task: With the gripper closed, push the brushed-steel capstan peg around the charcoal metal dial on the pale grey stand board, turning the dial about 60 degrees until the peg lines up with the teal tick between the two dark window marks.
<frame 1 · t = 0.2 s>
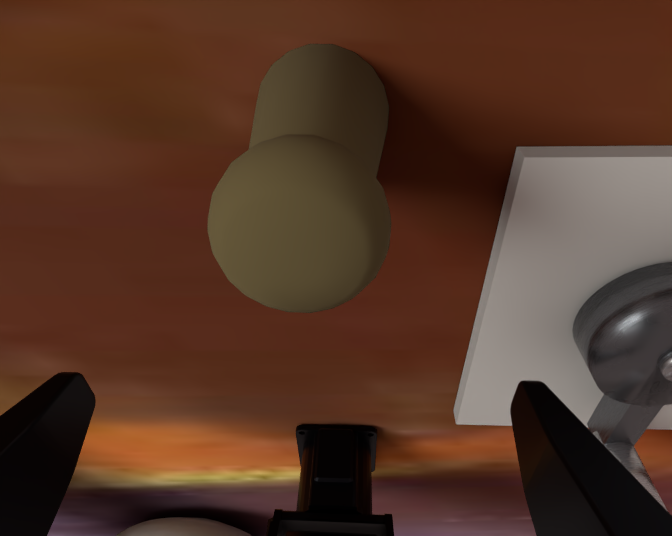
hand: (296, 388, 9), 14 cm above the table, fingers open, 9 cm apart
cork: (322, 114, 20), on the table
serving bowl: (203, 531, 51), on the table
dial: (657, 404, 24), point 5 cm above the table, hinge at 0.0°
stand board: (654, 312, 26), on the table
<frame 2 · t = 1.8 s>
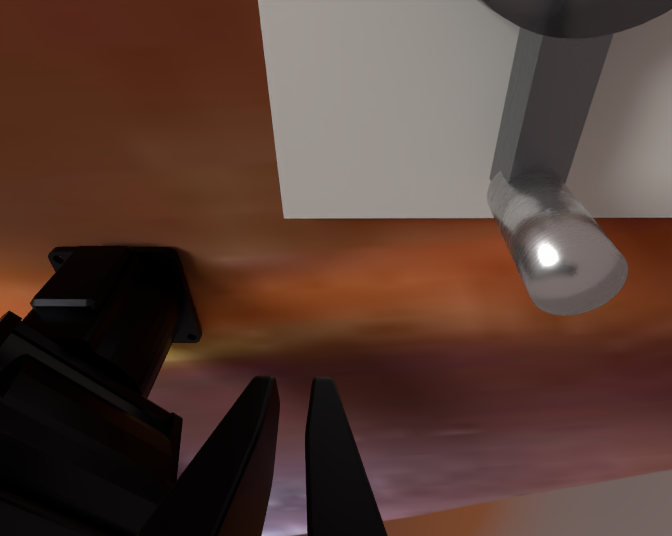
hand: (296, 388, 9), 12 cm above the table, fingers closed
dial: (596, 1, 11), point 5 cm above the table, hinge at 0.0°
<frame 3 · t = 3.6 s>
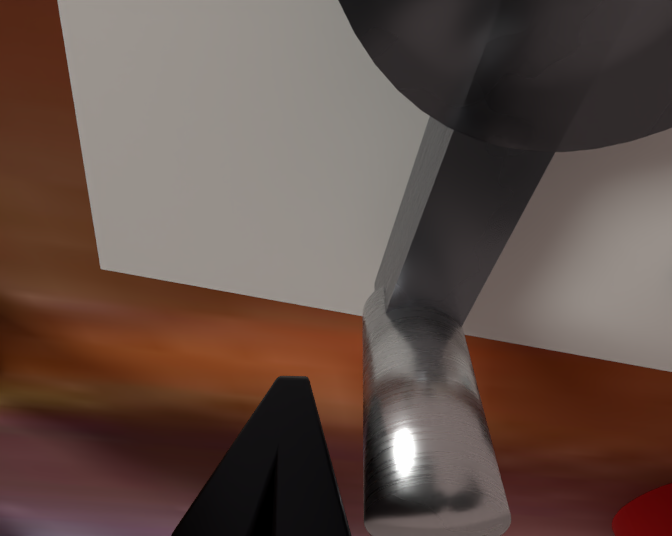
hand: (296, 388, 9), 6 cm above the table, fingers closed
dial: (536, 103, 6), point 5 cm above the table, hinge at 0.4°, touching gripper
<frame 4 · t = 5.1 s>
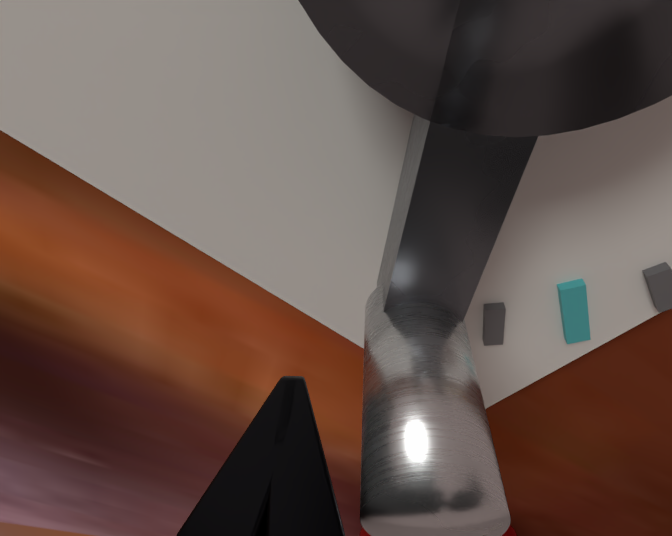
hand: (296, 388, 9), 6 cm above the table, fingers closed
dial: (508, 87, 6), point 5 cm above the table, hinge at 31.7°, touching gripper
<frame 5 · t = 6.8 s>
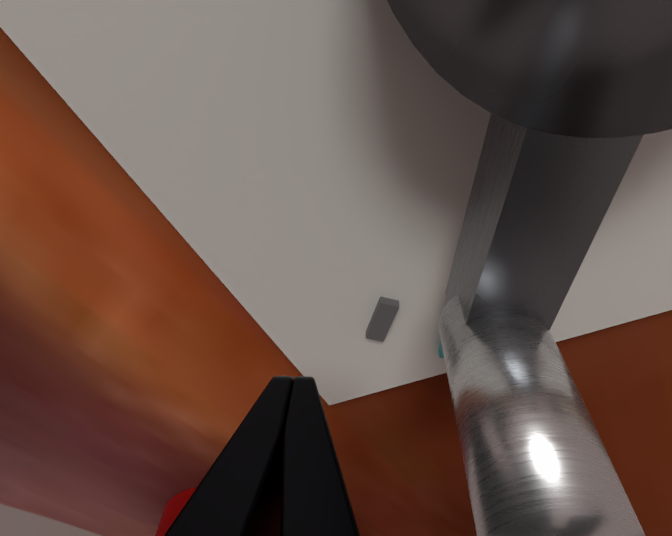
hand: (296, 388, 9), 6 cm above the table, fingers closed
decorative ornament: (245, 516, 27), on the table
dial: (622, 87, 6), point 5 cm above the table, hinge at 59.5°
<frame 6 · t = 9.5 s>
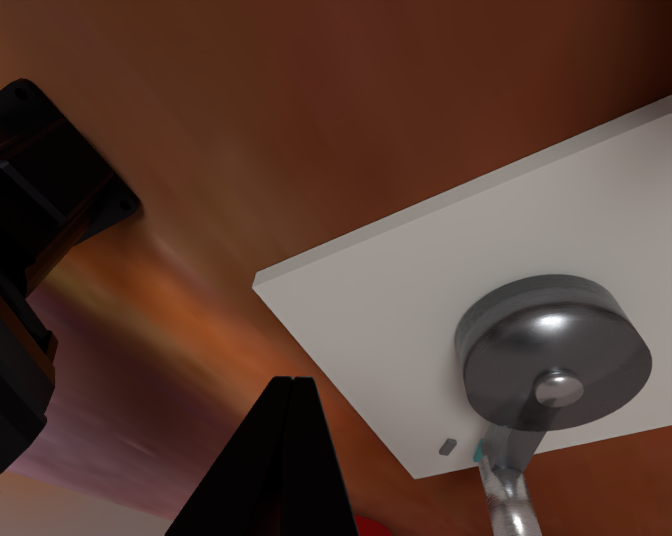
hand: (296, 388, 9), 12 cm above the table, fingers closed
decorative ornament: (342, 531, 43), on the table
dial: (537, 430, 22), point 5 cm above the table, hinge at 59.5°
stand board: (514, 337, 25), on the table
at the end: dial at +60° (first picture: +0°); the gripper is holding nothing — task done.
